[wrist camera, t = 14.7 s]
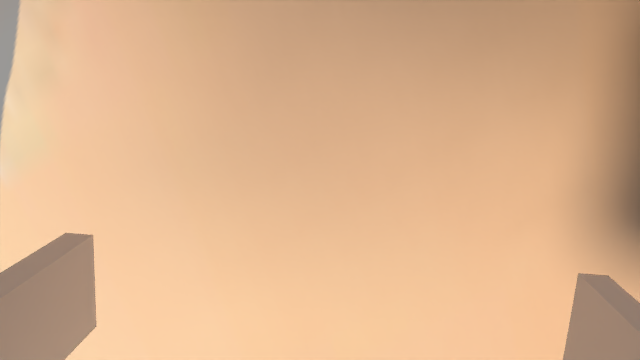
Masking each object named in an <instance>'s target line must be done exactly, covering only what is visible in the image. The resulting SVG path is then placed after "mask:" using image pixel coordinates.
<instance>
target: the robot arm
mask: <svg viewBox="0 0 640 360" xmlns="http://www.w3.org/2000/svg"><path fill="white" fill-rule="evenodd" d="M95 327H96V304H95V276H94V248H93V235H86V234H73V233H65V234H63V235H62V236H60V237H58V238H57V239H55V240H54V241H52V242H50V243H49V244H47V245H45V246H44V247H42V248H40V249H39V250H37V251H36V252H34V253H32V254H31V255H29V256H27V257H26V258H24V259H22V260H21V261H19V262H18V263H16V264H14V265H13V266H11V267H9V268H8V269H6V270H4V271H3V272H1V273H0V360H64V359H65V358H66V357H67V356H68V355H69V354H70V353H71V352H72V351H73V350H74V349H75V348H76V347H77V346H78V345H79V344H80V343H81V342H82V341H83V340H84V339H85V338H86V337H87V336H88V334H89V333H90V332H91V331H92V330H93V329H94V328H95ZM563 360H640V303H639V302H638V301H637V300H635V299H634V298H633V297H632V296H631V295H630V294H629V293H627V292H626V291H625V290H624V289H623V288H622V287H620V286H619V285H618V284H617V283H616V282H615V281H614V280H612V279H611V278H610V277H609V276H606V275H593V274H581V273H578V278H577V284H576V289H575V295H574V301H573V306H572V312H571V318H570V323H569V329H568V334H567V340H566V346H565V351H564V357H563Z"/></svg>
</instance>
